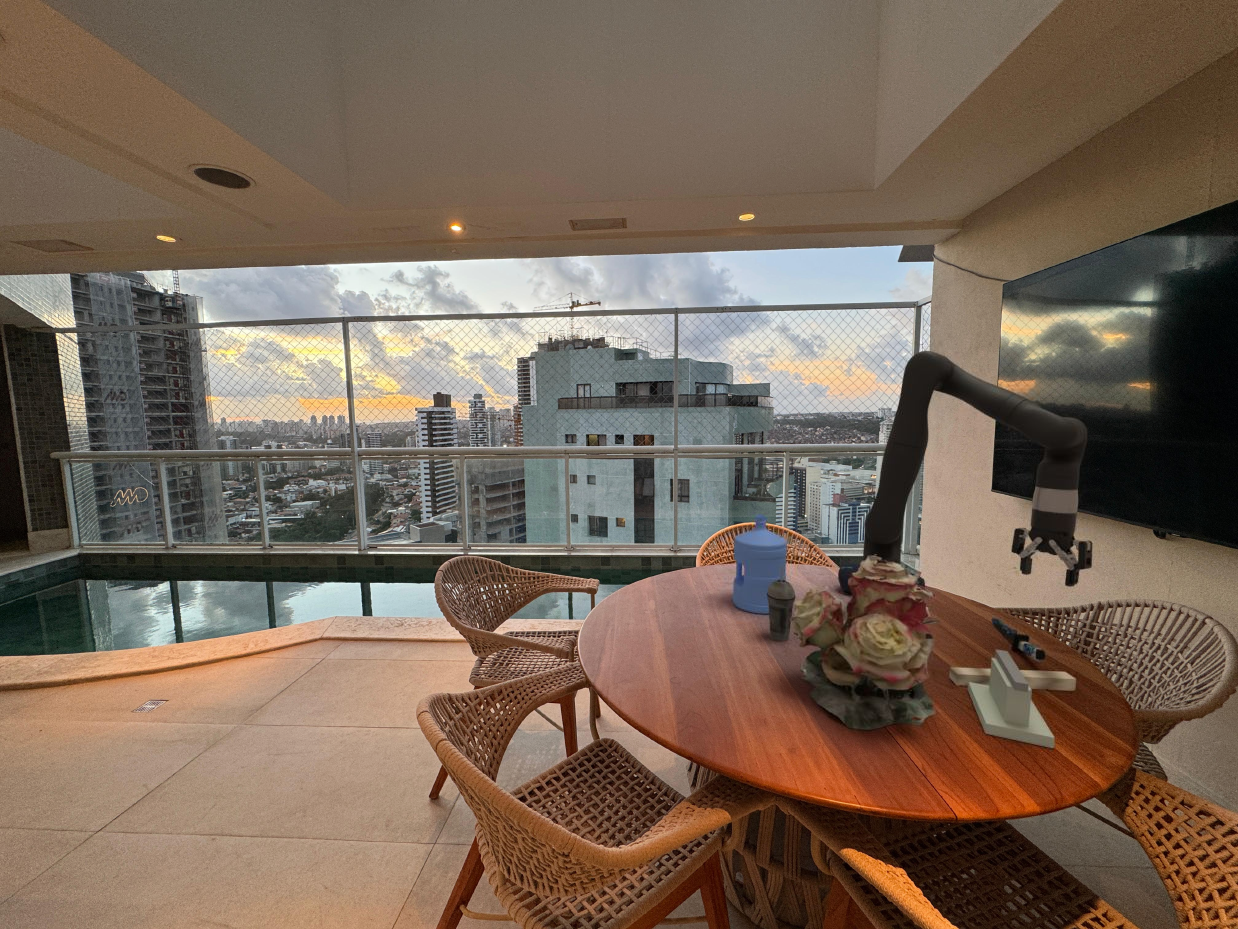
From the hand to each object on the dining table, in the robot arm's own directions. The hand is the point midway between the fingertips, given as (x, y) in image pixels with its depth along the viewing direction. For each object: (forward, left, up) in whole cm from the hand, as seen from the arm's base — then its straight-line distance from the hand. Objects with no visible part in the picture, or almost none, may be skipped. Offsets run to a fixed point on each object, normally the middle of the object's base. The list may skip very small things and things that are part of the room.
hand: (1047, 579), depth 113 cm
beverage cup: (-56, -5, -22) cm, 61 cm away
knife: (-1, +15, -22) cm, 27 cm away
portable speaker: (-31, +38, -22) cm, 54 cm away
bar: (-7, -8, -23) cm, 25 cm away
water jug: (-65, +16, -22) cm, 71 cm away
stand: (-11, -23, -22) cm, 34 cm away
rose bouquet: (-36, -27, -22) cm, 50 cm away
